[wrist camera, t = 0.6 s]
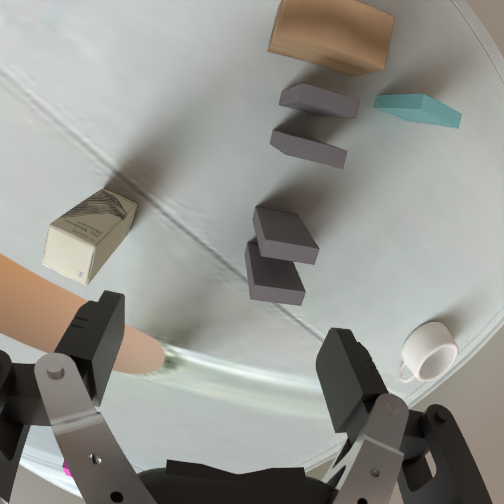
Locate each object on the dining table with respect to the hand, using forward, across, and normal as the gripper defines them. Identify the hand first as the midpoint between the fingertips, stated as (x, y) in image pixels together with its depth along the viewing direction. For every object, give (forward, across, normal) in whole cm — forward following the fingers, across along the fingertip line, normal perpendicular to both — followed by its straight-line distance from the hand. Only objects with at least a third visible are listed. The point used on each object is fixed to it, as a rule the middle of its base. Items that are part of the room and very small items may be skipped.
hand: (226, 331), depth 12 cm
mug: (+26, -38, +20) cm, 50 cm away
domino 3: (+26, -6, +3) cm, 27 cm away
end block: (+26, -6, -18) cm, 32 cm away
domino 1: (+26, -6, -10) cm, 28 cm away
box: (+26, +13, +6) cm, 29 cm away
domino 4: (+26, -6, +8) cm, 27 cm away
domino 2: (+26, -6, -6) cm, 27 cm away
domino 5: (+26, -17, -14) cm, 34 cm away
